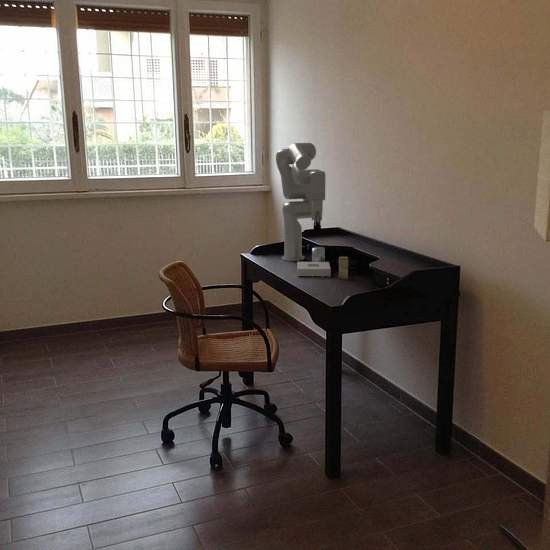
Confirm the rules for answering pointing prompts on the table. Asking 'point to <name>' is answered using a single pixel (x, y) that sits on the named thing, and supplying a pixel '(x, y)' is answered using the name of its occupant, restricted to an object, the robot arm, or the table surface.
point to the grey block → (318, 254)
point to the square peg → (343, 267)
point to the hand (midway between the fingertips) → (317, 231)
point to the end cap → (350, 263)
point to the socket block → (313, 269)
